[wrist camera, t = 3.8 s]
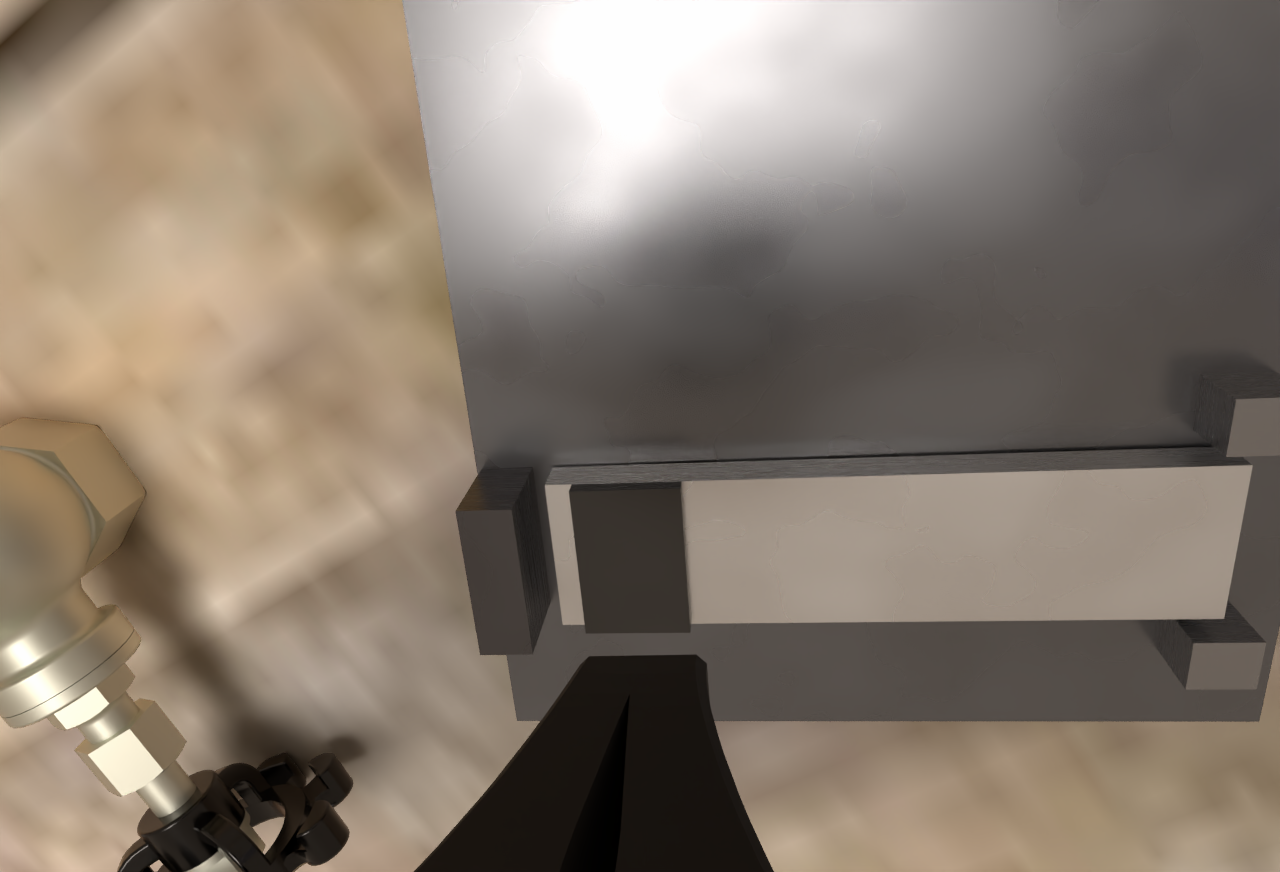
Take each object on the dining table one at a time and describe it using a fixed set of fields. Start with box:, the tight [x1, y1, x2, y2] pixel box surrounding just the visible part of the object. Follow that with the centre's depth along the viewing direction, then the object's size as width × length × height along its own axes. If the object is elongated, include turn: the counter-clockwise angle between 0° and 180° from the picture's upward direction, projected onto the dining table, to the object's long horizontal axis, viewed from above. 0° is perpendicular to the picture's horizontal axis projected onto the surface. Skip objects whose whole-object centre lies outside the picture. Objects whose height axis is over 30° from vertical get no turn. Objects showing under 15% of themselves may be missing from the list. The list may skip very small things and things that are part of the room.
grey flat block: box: [402, 0, 1280, 721], centre depth 15 cm, size 15×23×5 cm, turn 4°
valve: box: [0, 418, 353, 872], centre depth 21 cm, size 7×7×12 cm
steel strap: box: [545, 447, 1253, 634], centre depth 17 cm, size 12×3×1 cm, turn 94°
